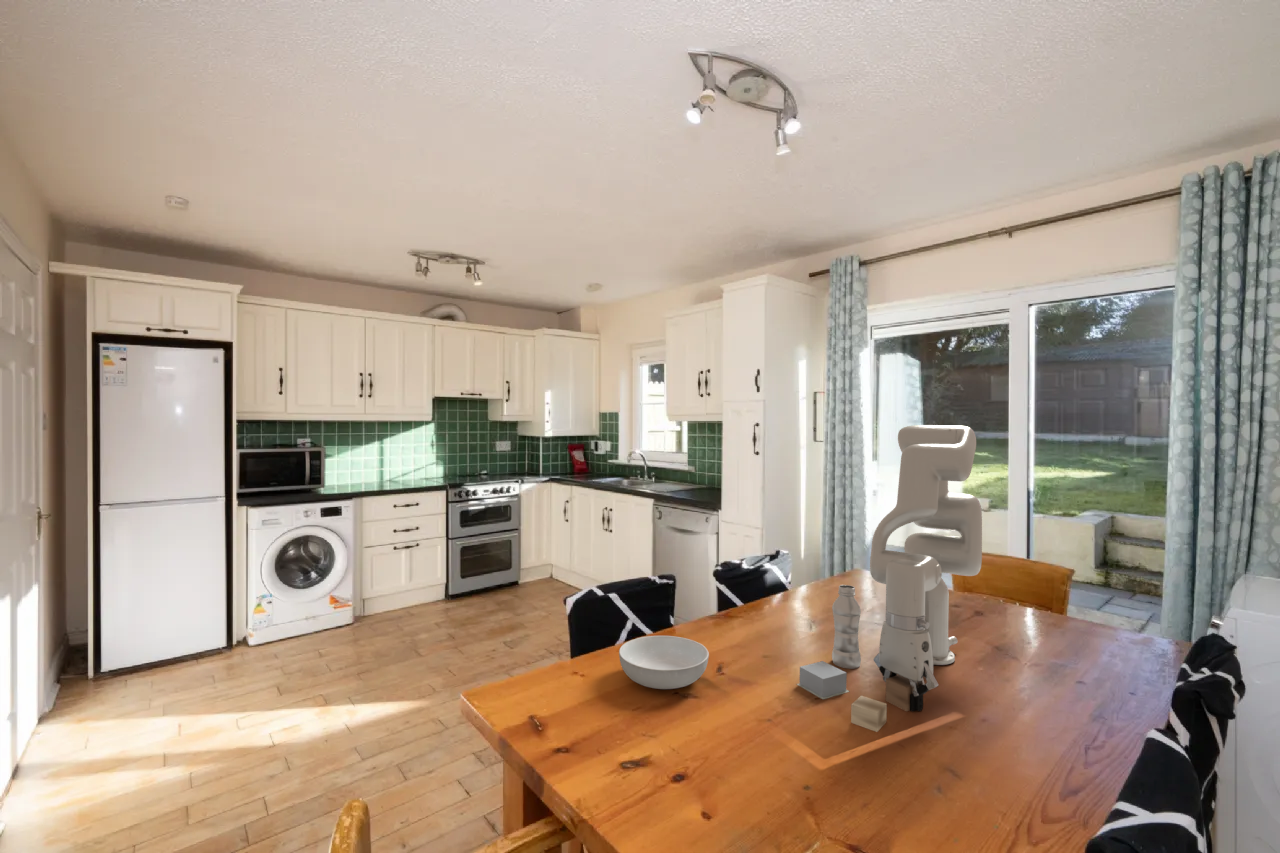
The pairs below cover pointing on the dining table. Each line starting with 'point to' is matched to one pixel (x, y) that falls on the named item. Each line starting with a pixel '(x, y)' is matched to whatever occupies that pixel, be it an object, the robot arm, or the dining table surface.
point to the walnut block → (899, 691)
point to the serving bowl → (663, 661)
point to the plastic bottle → (846, 629)
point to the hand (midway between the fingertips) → (903, 705)
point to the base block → (823, 679)
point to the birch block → (868, 713)
